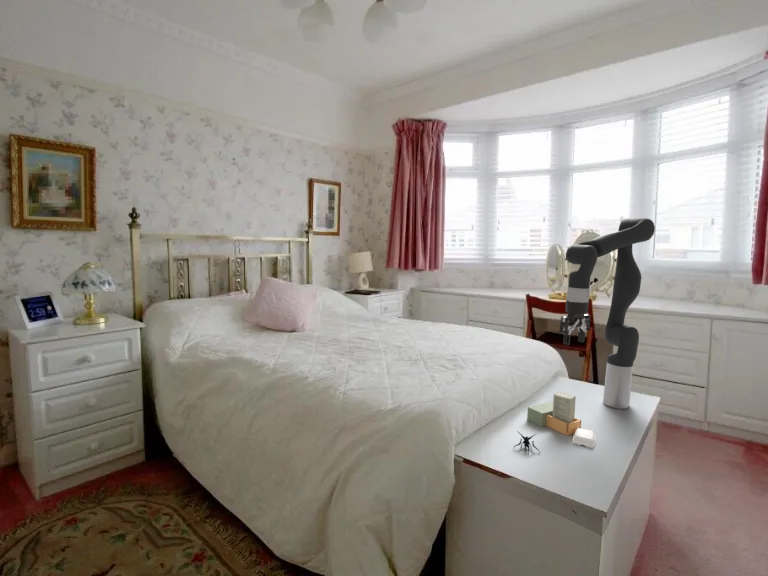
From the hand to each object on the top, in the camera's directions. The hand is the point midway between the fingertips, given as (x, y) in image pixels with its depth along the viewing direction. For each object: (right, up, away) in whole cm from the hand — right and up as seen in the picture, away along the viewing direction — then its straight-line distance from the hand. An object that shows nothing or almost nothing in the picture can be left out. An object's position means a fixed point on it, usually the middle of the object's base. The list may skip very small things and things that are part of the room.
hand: (573, 343), depth 157 cm
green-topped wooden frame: (-9, -29, -5) cm, 30 cm away
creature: (-26, -31, -24) cm, 47 cm away
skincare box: (-7, -29, -7) cm, 31 cm away
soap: (-4, -31, -16) cm, 35 cm away
